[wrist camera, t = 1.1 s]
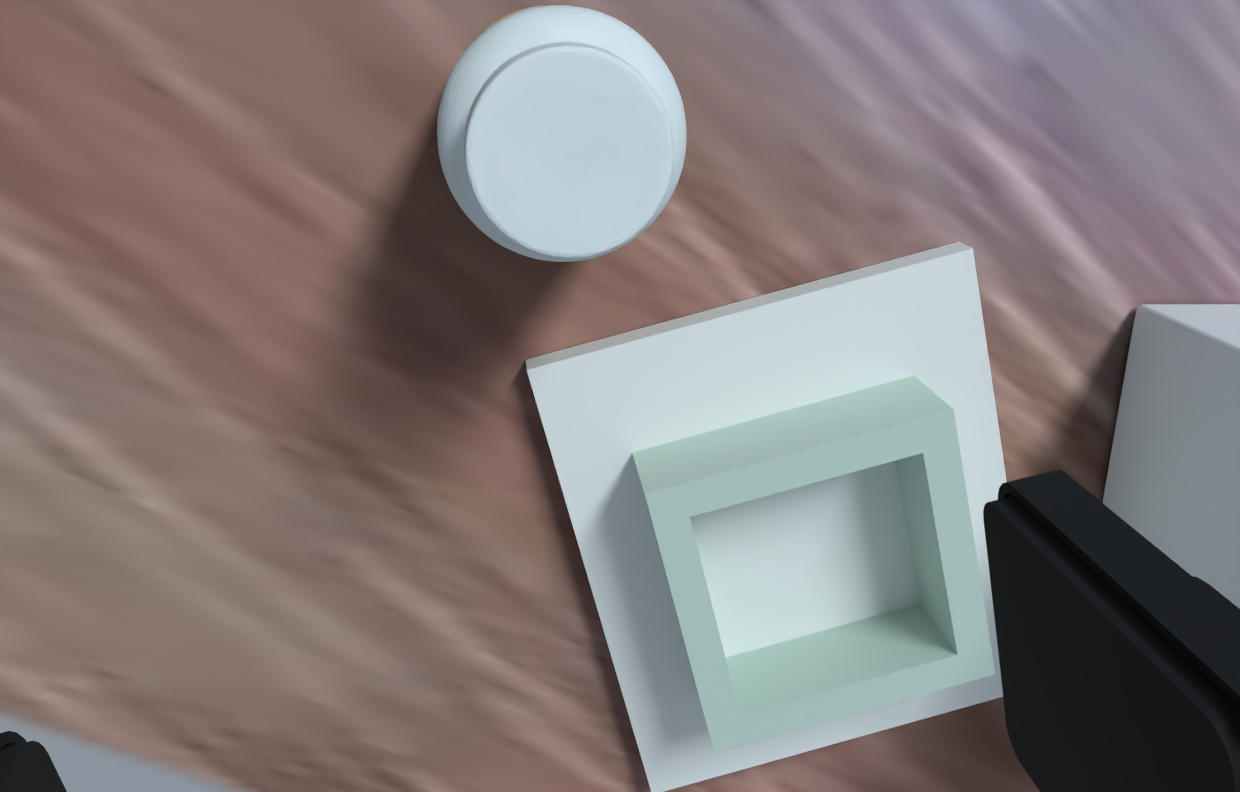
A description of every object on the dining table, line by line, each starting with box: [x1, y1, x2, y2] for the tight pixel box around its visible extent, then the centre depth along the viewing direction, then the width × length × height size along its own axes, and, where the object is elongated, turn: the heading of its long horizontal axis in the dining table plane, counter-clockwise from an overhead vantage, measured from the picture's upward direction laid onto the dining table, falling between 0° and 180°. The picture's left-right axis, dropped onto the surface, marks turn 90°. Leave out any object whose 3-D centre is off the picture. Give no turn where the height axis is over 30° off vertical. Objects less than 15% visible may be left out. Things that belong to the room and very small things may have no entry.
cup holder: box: [526, 242, 1006, 792], centre depth 33 cm, size 15×13×4 cm
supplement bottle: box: [437, 5, 686, 262], centre depth 26 cm, size 5×5×10 cm
